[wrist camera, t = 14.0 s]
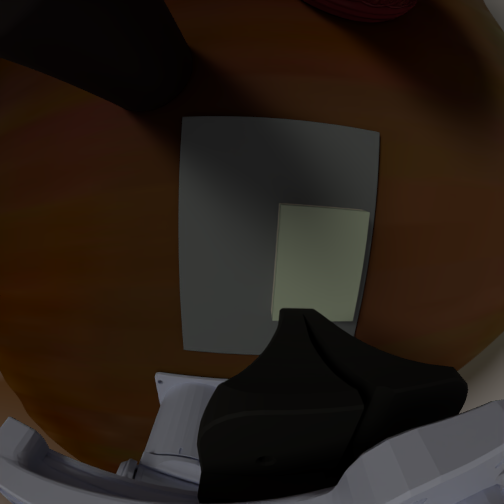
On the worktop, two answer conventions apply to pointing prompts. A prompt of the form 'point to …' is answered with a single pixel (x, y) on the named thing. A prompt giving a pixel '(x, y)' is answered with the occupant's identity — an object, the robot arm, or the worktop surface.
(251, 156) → the mat
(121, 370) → the worktop surface
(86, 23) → the bottle
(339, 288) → the tile
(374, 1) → the canister
